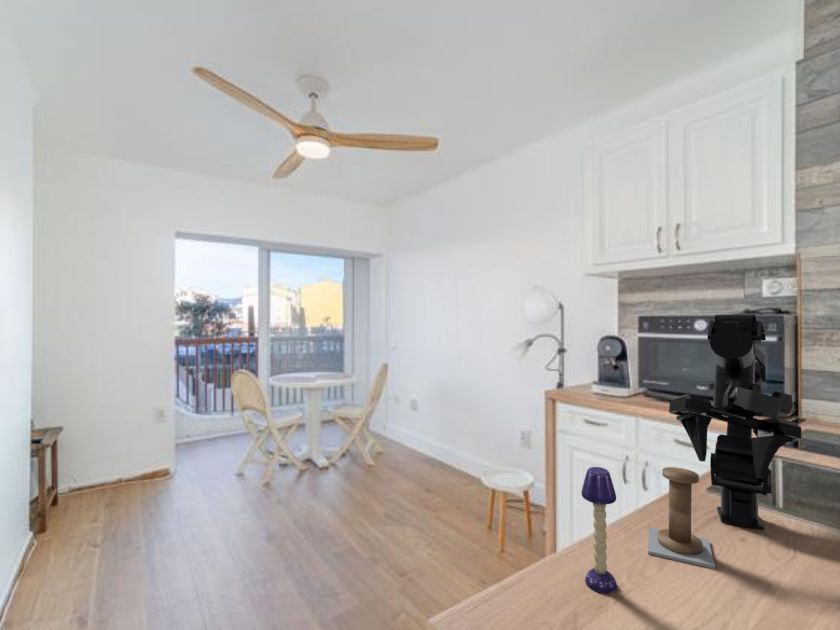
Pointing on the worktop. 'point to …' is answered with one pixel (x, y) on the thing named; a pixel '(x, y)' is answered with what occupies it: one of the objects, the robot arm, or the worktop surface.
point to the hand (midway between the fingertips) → (730, 469)
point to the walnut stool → (680, 513)
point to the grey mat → (659, 550)
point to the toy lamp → (599, 526)
